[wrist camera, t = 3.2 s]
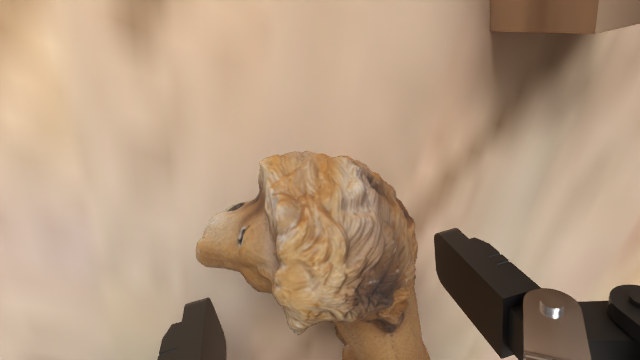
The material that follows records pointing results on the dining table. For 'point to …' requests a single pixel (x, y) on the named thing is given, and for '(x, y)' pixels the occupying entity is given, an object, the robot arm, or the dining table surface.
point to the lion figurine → (327, 252)
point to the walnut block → (563, 15)
